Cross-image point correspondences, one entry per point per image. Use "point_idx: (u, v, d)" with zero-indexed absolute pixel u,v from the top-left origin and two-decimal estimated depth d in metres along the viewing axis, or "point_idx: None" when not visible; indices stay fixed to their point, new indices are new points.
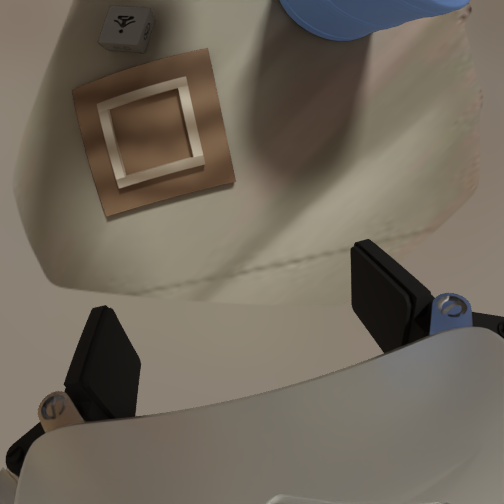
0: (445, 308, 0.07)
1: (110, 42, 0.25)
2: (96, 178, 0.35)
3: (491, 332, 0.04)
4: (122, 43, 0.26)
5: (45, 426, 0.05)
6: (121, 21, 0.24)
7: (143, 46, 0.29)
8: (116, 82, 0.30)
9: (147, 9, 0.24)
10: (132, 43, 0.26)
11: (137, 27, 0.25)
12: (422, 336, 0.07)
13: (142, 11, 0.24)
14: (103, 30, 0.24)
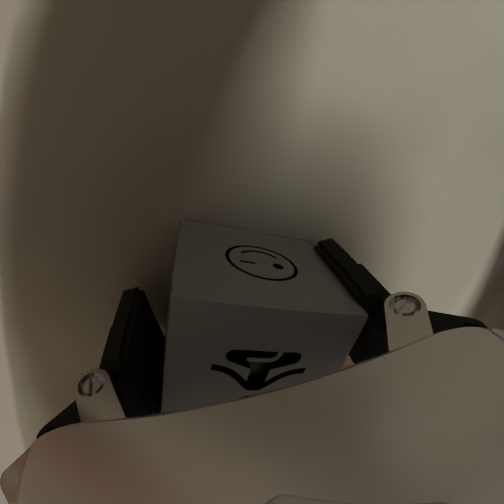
0: (398, 308, 0.08)
1: None
2: None
3: (491, 332, 0.04)
4: None
5: (83, 403, 0.06)
6: (245, 368, 0.08)
7: None
8: None
9: (357, 323, 0.08)
10: None
11: None
12: (375, 334, 0.08)
13: (337, 332, 0.08)
14: (171, 395, 0.08)
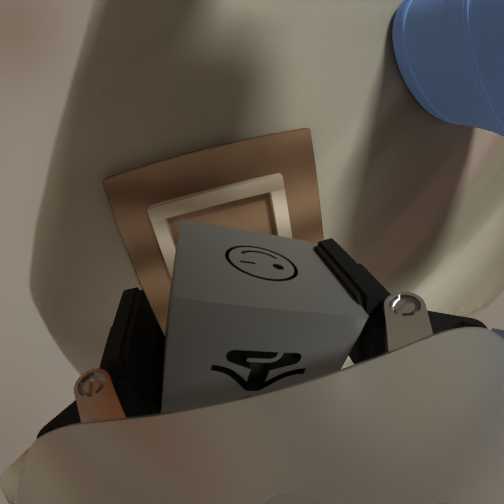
0: (398, 308, 0.08)
1: None
2: (152, 301, 0.29)
3: (491, 332, 0.04)
4: None
5: (84, 403, 0.06)
6: (245, 368, 0.08)
7: None
8: (174, 174, 0.24)
9: (357, 324, 0.08)
10: None
11: None
12: (374, 334, 0.08)
13: (337, 332, 0.08)
14: (171, 396, 0.08)
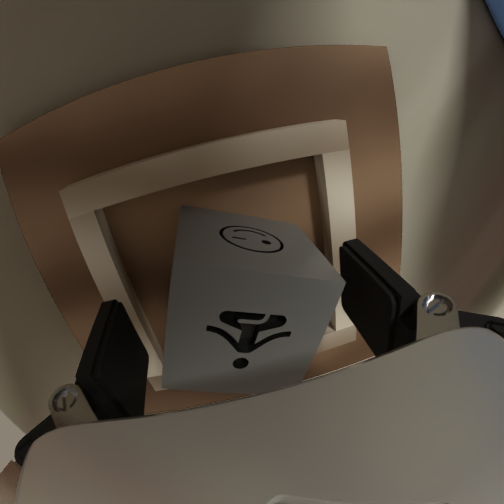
0: (431, 307, 0.07)
1: (207, 389, 0.10)
2: None
3: (491, 332, 0.04)
4: None
5: (56, 418, 0.06)
6: (236, 330, 0.09)
7: None
8: (116, 116, 0.10)
9: (336, 289, 0.09)
10: None
11: (297, 351, 0.10)
12: (407, 335, 0.07)
13: (317, 297, 0.09)
14: (171, 357, 0.09)
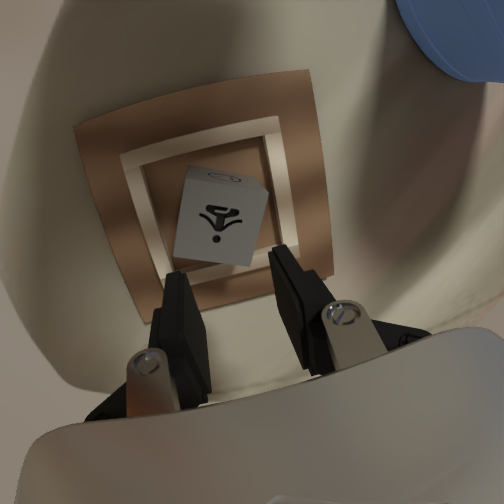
0: (337, 317, 0.08)
1: (198, 258, 0.19)
2: (125, 272, 0.24)
3: (491, 332, 0.04)
4: (221, 261, 0.20)
5: (141, 382, 0.07)
6: (214, 217, 0.18)
7: None
8: (152, 116, 0.19)
9: (264, 196, 0.18)
10: (240, 263, 0.20)
11: (247, 233, 0.19)
12: (313, 341, 0.08)
13: (254, 200, 0.18)
14: (180, 233, 0.18)
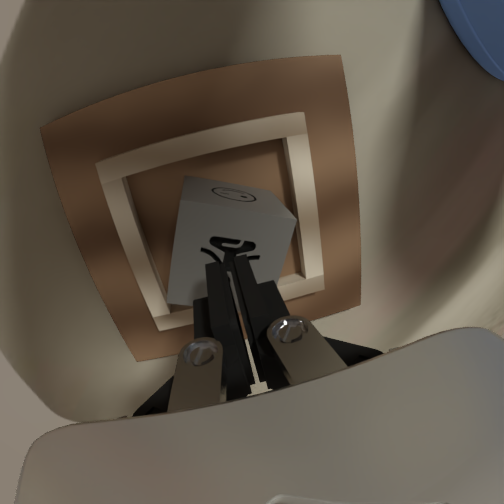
0: (284, 335, 0.08)
1: None
2: (111, 306, 0.19)
3: (491, 332, 0.04)
4: None
5: (198, 373, 0.07)
6: (221, 252, 0.13)
7: None
8: (138, 111, 0.14)
9: (290, 224, 0.13)
10: None
11: (266, 273, 0.14)
12: (260, 357, 0.08)
13: (277, 229, 0.13)
14: (175, 274, 0.13)
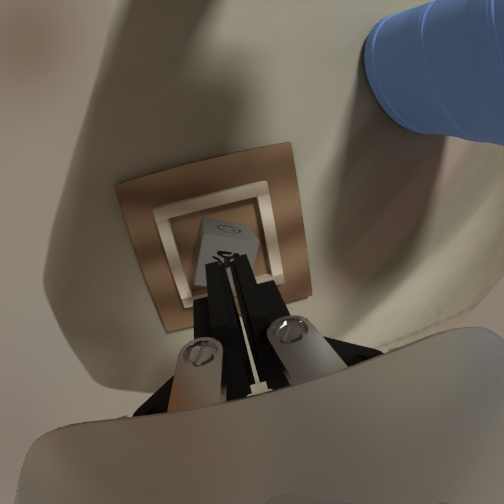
0: (284, 336, 0.08)
1: None
2: (154, 293, 0.33)
3: (491, 332, 0.04)
4: None
5: (198, 373, 0.07)
6: (222, 258, 0.27)
7: None
8: (175, 181, 0.29)
9: (256, 244, 0.27)
10: None
11: None
12: (260, 357, 0.08)
13: (249, 247, 0.27)
14: (199, 269, 0.27)
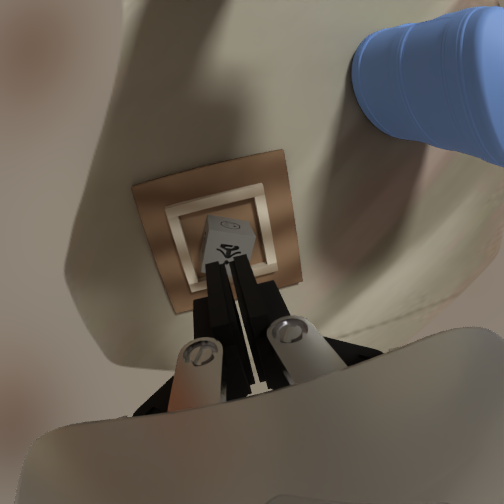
0: (284, 335, 0.08)
1: None
2: (165, 280, 0.38)
3: (491, 332, 0.04)
4: (228, 274, 0.34)
5: (198, 373, 0.07)
6: (225, 250, 0.33)
7: None
8: (184, 183, 0.34)
9: (253, 239, 0.32)
10: None
11: None
12: (260, 357, 0.08)
13: (247, 241, 0.32)
14: (205, 259, 0.33)
